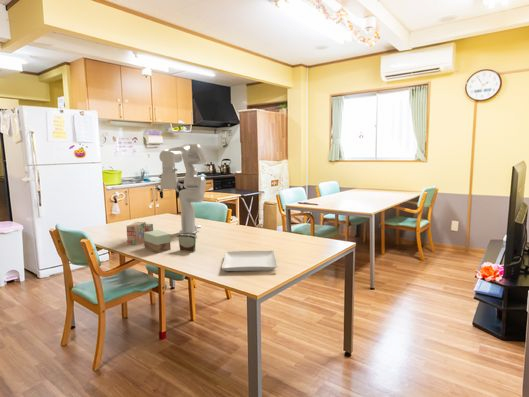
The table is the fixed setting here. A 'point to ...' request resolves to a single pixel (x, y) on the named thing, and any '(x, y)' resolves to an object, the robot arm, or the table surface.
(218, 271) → the table surface
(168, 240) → the tower top slab
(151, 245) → the tower base slab
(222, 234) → the table surface
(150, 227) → the stack of blocks
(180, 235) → the food container
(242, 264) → the square plate
